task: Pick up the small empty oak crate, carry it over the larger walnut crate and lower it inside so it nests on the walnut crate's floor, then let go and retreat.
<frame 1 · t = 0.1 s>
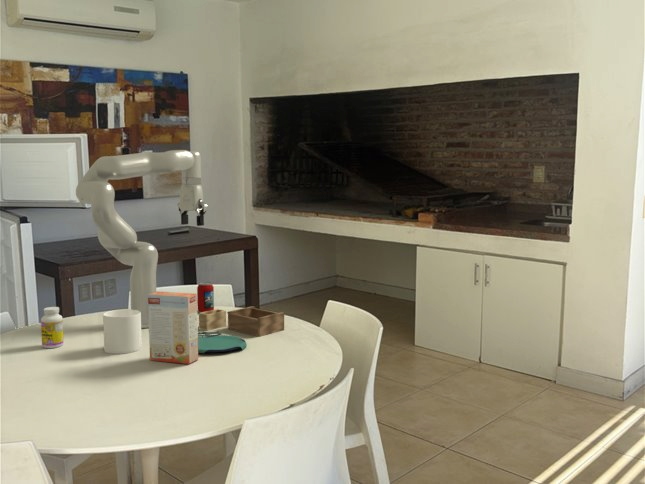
hand: (192, 225, 251), 37 cm above the table, tool pointing down, fingers open, 9 cm apart
supplement bottle: (53, 346, 207), on the table
oak crate: (212, 327, 233), on the table
cup: (123, 349, 204), on the table
walnut crate: (256, 329, 230), on the table
beverage can: (205, 312, 260), on the table
cracker box: (174, 360, 192), on the table
cutlery set: (211, 345, 211), on the table
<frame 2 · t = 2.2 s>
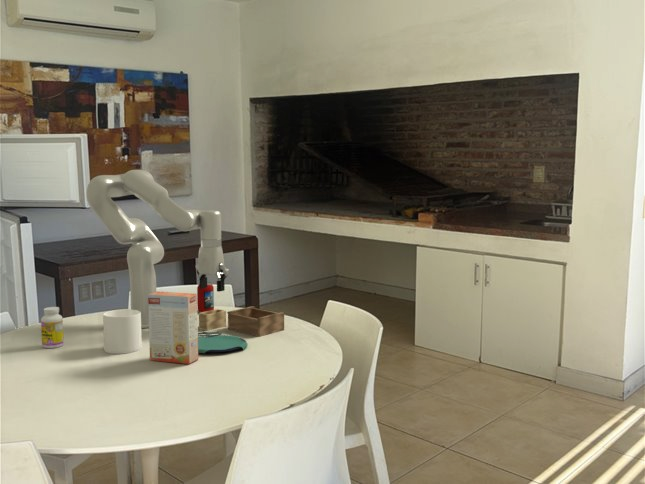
hand: (212, 289, 232), 14 cm above the table, tool pointing down, fingers open, 9 cm apart
nothing on the table moved.
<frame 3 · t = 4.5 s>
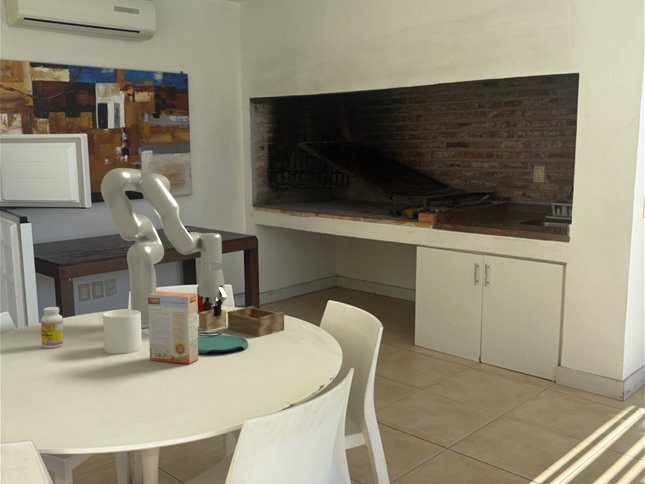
hand: (212, 314, 233), 5 cm above the table, tool pointing down, fingers closed on oak crate, 5 cm apart
oak crate: (212, 327, 233), on the table, touching gripper
everything else where it was.
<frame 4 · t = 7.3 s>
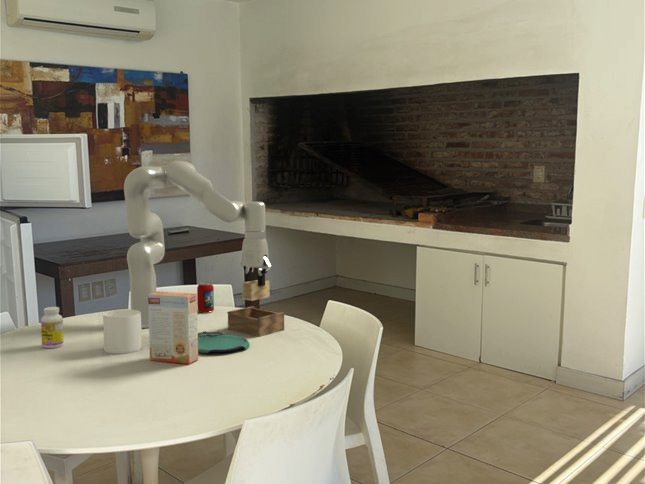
hand: (256, 284, 228), 17 cm above the table, tool pointing down, fingers closed on oak crate, 5 cm apart
oak crate: (256, 297, 228), point 12 cm above the table, touching gripper
everything else where it was.
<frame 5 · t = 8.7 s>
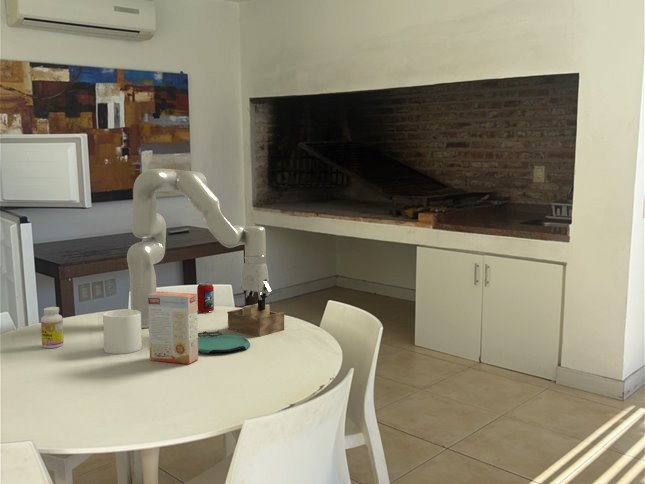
hand: (256, 308, 229), 8 cm above the table, tool pointing down, fingers closed on oak crate, 5 cm apart
oak crate: (256, 321, 229), point 3 cm above the table, touching gripper
everything else where it was.
when the fingers open (7 cm above the table, at t = 10.0 s): oak crate drops 1 cm, resting on walnut crate.
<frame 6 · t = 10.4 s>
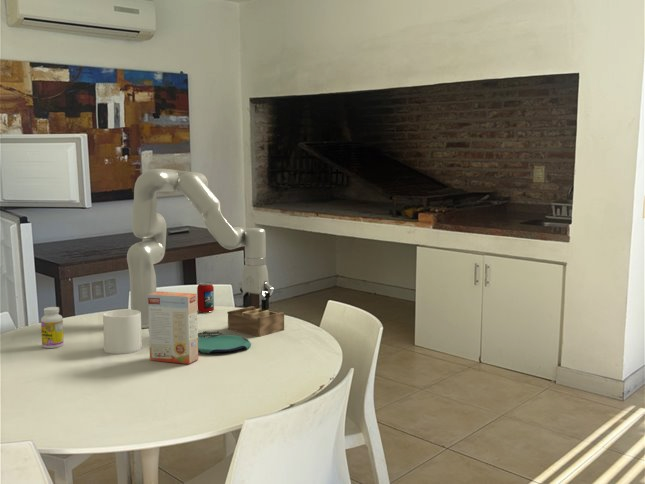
hand: (255, 308, 229), 8 cm above the table, tool pointing down, fingers open, 9 cm apart
oak crate: (255, 327, 230), point 1 cm above the table, touching walnut crate
everything else where it was.
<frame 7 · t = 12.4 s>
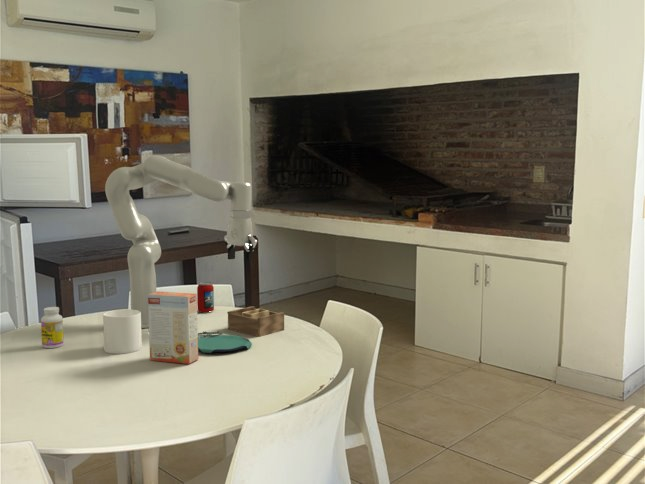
hand: (239, 260, 234), 25 cm above the table, tool pointing down, fingers open, 9 cm apart
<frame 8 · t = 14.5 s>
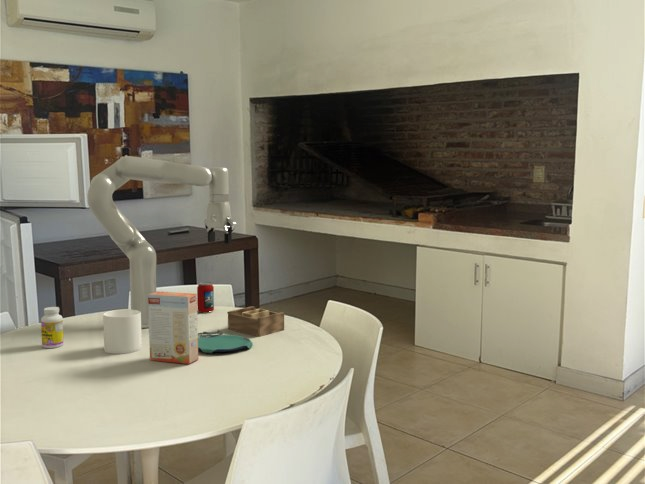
hand: (219, 242, 245), 30 cm above the table, tool pointing down, fingers open, 9 cm apart
at the end: oak crate inside the target area on the walnut crate (0.1 cm from its centre), point 0.8 cm above the walnut crate's base; oak crate tilted 0°; the gripper is holding nothing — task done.
